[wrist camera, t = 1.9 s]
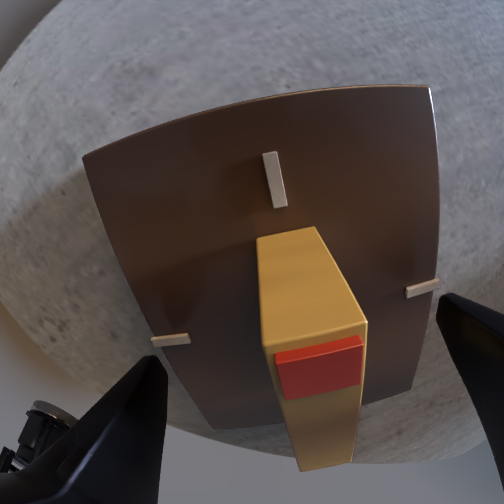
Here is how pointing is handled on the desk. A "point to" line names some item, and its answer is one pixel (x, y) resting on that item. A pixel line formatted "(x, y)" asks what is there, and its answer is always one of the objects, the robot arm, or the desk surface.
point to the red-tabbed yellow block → (312, 345)
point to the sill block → (276, 229)
